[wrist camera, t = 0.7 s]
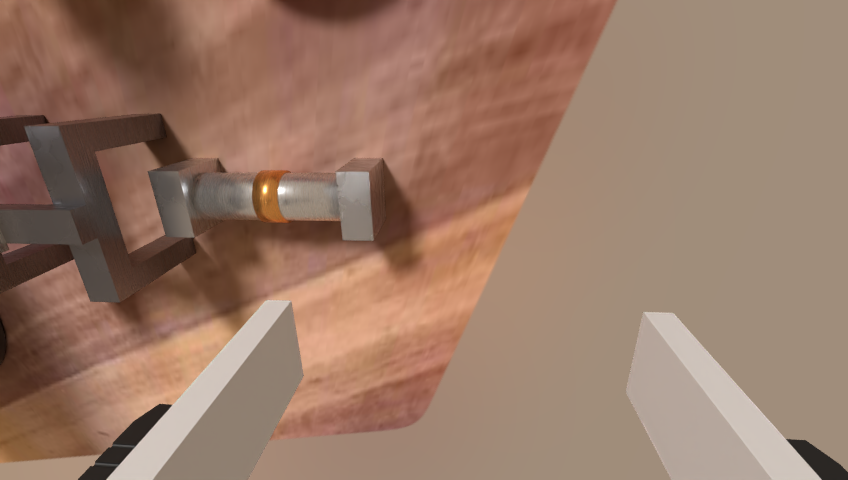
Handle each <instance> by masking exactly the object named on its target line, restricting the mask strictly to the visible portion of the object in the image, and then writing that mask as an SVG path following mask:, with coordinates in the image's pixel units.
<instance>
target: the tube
mask: <svg viewBox="0 0 848 480" xmlns="http://www.w3.org/2000/svg"><path fill="white" fill-rule="evenodd" d="M148 174H149V178H150V181H151V185H152V188H153V192H154V196H155V199H156V203H157V206H158V210H159V213H160V217H161V220H162V224H163V228H164V231H165V235H166V237H192V238H195V237H196V236H198V235H200V234H201V233H203V232H205V231H206V230H208V229H210V228H211V227H213V226H215V225H217V224H218V223H220V222H222V221H223V220H261V221H262V222H280V223H289V222H291V221H292V220H296V221H341V229H342V238H343V240H360V241H374V239H375V237H376V236H377V234H378V232H379V230H380V228H381V226H382V225H383V223H384V221H385V219H386V209H385V191H384V174H383V158H354V159H352V160H351V161H350V162H348V163H347V164H345V165H344V166H343V167H341V168H340V169H339V170H337V171H336V173H291V172H290V171H285V170H263V171H260V172H259V173H221V170H220V165H219V160H218V158H191V159H188V160H184V161H181V162H178V163H174V164H171V165H167V166H164V167H161V168H157V169H154V170H151V171H148Z"/></svg>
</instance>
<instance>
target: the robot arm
mask: <svg viewBox="0 0 848 480" xmlns="http://www.w3.org/2000/svg"><path fill="white" fill-rule="evenodd" d="M5 349H6V341H5V335H4V331H3V327H2V325H1V322H0V364H1V363H2V361H3V359H4V355H5ZM303 376H304V375H303V369H302V363H301V357H300V351H299V345H298V339H297V333H296V327H295V320H294V314H293V308H292V302H291V301H283V300H266V301H265V302H264V303H263V304H262V305H261V306H260V308H259V309H258V310H257V311H256V312H255V313H254V314H253V315H252V317H251V318H250V319H249V320H248V321H247V322H246V323H245V324H244V325H243V327H242V328H241V329H240V330H239V331H238V332H237V333H236V334H235V336H234V337H233V338H232V339H231V340H230V341H229V342H228V343H227V345H226V346H225V347H224V348H223V349H222V350H221V351H220V352H219V354H218V355H217V356H216V357H215V358H214V359H213V360H212V361H211V363H210V364H209V365H208V366H207V367H206V368H205V369H204V370H203V372H202V373H201V374H200V375H199V376H198V377H197V378H196V379H195V381H194V382H193V383H192V384H191V385H190V386H189V387H188V388H187V390H186V391H185V392H184V393H183V394H182V395H181V396H180V397H179V398H178V400H177V401H176V402H175V403H174V404H173V405H168V404H159V405H157V406H156V407H154V408H153V409H151V410H150V411H148V412H147V413H145V414H144V415H142V416H141V417H140V418H138V419H137V420H135V421H134V422H133V423H132V424H131V425H130V426H129V427H128V428H127V429H126V430H125V431H124V432H123V433H122V434H121V435H120V436H119V437H118V438H117V439H116V440H115V441H114V442H113V446H112V447H111V448H108V449H107V450H106V451H105V452H104V453H103V454H102V455H101V456H100V457H99V458H98V459H97V460H96V461H95V465H94V466H90V467H89V469H87V470H86V472H85V473H84V474H83V475H82V476H81V477H80V478H79V479H78V480H248V478H249V476H250V474H251V473H252V471H253V469H254V467H255V465H256V463H257V462H258V460H259V458H260V456H261V454H262V452H263V450H264V449H265V447H266V445H267V443H268V441H269V439H270V437H271V436H272V434H273V432H274V430H275V428H276V426H277V424H278V423H279V421H280V419H281V417H282V415H283V413H284V411H285V410H286V408H287V406H288V404H289V402H290V400H291V398H292V397H293V395H294V393H295V391H296V389H297V387H298V385H299V383H300V382H301V380H302V378H303ZM626 393H627V395H628V397H629V399H630V401H631V403H632V405H633V406H634V409H635V410H636V412H637V414H638V416H639V418H640V420H641V422H642V424H643V426H644V428H645V430H646V432H647V434H648V435H649V438H650V439H651V441H652V443H653V445H654V447H655V449H656V451H657V453H658V455H659V456H660V459H661V461H662V463H663V464H664V466H665V468H666V470H667V472H668V474H669V476H670V478H671V480H848V472H847V471H846V470H845V469H844V468H843V467H842V466H841V465H840V464H839V463H837V462H836V461H834V460H833V459H831V458H830V457H828V456H827V455H826V454H824V453H823V452H821V451H820V450H819V449H817V448H816V447H814V446H813V445H812V444H810V443H809V442H807V441H806V440H791V439H785V438H784V437H783V436H782V435H781V434H780V432H779V431H778V430H777V429H776V428H775V427H774V426H773V424H772V423H771V422H770V421H769V420H768V419H767V418H766V417H765V416H764V414H763V413H762V412H761V411H760V410H759V409H758V408H757V407H756V406H755V404H754V403H753V402H752V401H751V400H750V399H749V398H748V396H747V395H746V394H745V393H744V392H743V391H742V390H741V389H740V388H739V386H738V385H737V384H736V383H735V382H734V381H733V380H732V379H731V377H730V376H729V375H728V374H727V373H726V372H725V371H724V370H723V368H722V367H721V366H720V365H719V364H718V363H717V362H716V361H715V359H714V358H713V357H712V356H711V355H710V354H709V353H708V352H707V350H706V349H705V348H704V347H703V346H702V345H701V344H700V343H699V342H698V340H697V339H696V338H695V337H694V336H693V335H692V334H691V333H690V331H689V330H688V329H687V328H686V327H685V326H684V325H683V324H682V322H681V321H680V320H679V319H678V318H677V317H676V316H675V315H674V313H657V312H643V316H642V321H641V325H640V329H639V334H638V339H637V343H636V348H635V352H634V358H633V362H632V366H631V371H630V376H629V380H628V385H627V389H626Z"/></svg>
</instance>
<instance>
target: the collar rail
mask: <svg viewBox="0 0 848 480" xmlns="http://www.w3.org/2000/svg"><path fill="white" fill-rule="evenodd" d="M161 138H166V133H165V129H164V125H163V121H162V117H161V114H131V115H121V116H112V117H103V118H94V119H85V120H75V121H66V122H57V123H48V124H46V121H45V118H44V115H25V116H7V117H0V145H7V144H14V143H21V142H28V141H29V142H30V144H31V147H32V149H33V152H34V155H35V157H36V160H37V162H38V165H39V168H40V170H41V173H42V176H43V178H44V181H45V183H46V186H47V189H48V191H49V194H50V197H51V199H52V202H53V204H54V205H34V204H0V293H2V292H4V291H6V290H9V289H11V288H13V287H15V286H17V285H19V284H22V283H24V282H26V281H28V280H30V279H32V278H34V277H37V276H39V275H41V274H43V273H45V272H47V271H50V270H52V269H54V268H56V267H58V266H60V265H62V264H65V263H67V262H69V261H71V260H73V259H75V262H76V265H77V267H78V270H79V272H80V275H81V278H82V280H83V283H84V286H85V288H86V291H87V293H88V296H89V299H90V301H92V302H122V301H123V300H125V299H126V298H128V297H129V296H131V295H132V294H134V293H135V292H137V291H138V290H140V289H142V288H143V287H145V286H146V285H148V284H149V283H151V282H152V281H154V280H155V279H157V278H158V277H160V276H161V275H163V274H165V273H166V272H168V271H169V270H171V269H172V268H174V267H175V266H177V265H178V264H180V263H181V262H183V261H184V260H186V259H187V258H189V257H191V256H192V255H194V254H195V253H196V251H195V247H194V243H193V239H192V237H166V235H164V236H162V237H160V238H158V239H156V240H155V241H153V242H151V243H149V244H147V245H145V246H143V247H141V248H139V249H137V250H135V251H134V252H132V253H130V254H128V253H127V250H126V247H125V244H124V241H123V237H122V234H121V231H120V228H119V225H118V222H117V219H116V216H115V213H114V210H113V207H112V204H111V201H110V197H109V194H108V191H107V188H106V185H105V182H104V179H103V176H102V173H101V170H100V167H99V164H98V160H97V157H96V154H95V151H100V150H105V149H110V148H115V147H120V146H125V145H130V144H135V143H140V142H145V141H150V140H156V139H161ZM7 243H20V244H30V245H28V246H25V247H23V248H20V249H17V250H15V251H12V252H9V253H7V254H4V255H2V254H1V253H2V252H5V251H7V250H9V248H8V245H7Z"/></svg>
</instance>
